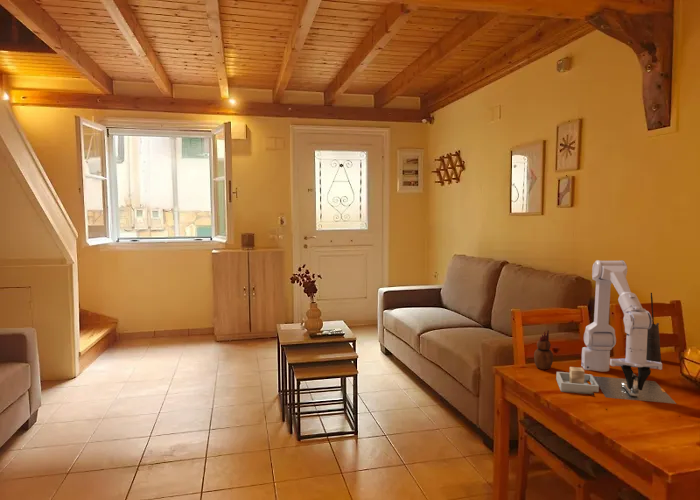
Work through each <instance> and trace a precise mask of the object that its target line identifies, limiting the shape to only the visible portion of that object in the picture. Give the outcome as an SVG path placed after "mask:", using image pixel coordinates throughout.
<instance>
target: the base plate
mask: <svg viewBox="0 0 700 500" xmlns="http://www.w3.org/2000/svg"><path fill="white" fill-rule="evenodd" d="M592 376H593V378H594V379H595V381H596V382H597V384H598V386H599V390H601V392H602V394H603V395H604V397H605V398H609V399H610V398H611V399H619V400H620V399H621V400H629V401H641V402H652V403H653V402H654V403H664V404H675V405H677V403H676V402H675V400H674V399H673V398H672V397H671V396H670V395H669V394H668V393H667V392H666V391H665V389H664V388H662V387H661V386H660V385H659V384H658V383H657V381H655V380H647V379H646V381H645V383H644V385H643V388H642V390H639V396H631V395H630V394H629V393H628V392H627V390H626V389H625V388H624V387H622V386H621V382H626V378H622V377H621V378H619V377H606V376H595V375H592Z"/></svg>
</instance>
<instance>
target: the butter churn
mask: <svg viewBox="0 0 700 500" xmlns="http://www.w3.org/2000/svg"><path fill="white" fill-rule="evenodd" d="M650 303H651V308H650V309H651V317H652V326H651V328H650V329H647V330H648V332H647V354H646V360H648V361H655V362H662V356H661V355H662V354H661V352H662V351H661V341H660V338H661V337H660V327H659V325H660V323H659V322H657V323H655V321H654V320H655V319H654V300H653V292H650Z"/></svg>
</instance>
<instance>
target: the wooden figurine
mask: <svg viewBox="0 0 700 500" xmlns="http://www.w3.org/2000/svg"><path fill="white" fill-rule="evenodd" d="M549 332H550V330H547V332H546V331H544V333H543V334H541V336H540V337H539V340H537V341H536V349H535V350H534V353H533V360H534V364H535V367H536V368H538V369H540V370H549V369H550V368H551V367H552V365H553V363H554V354H553V353H554V352H552V350H551V342H550V338H549V335H550V333H549Z"/></svg>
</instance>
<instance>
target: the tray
mask: <svg viewBox="0 0 700 500" xmlns="http://www.w3.org/2000/svg"><path fill="white" fill-rule="evenodd" d="M593 376H594V375H593V374H590V373H589V374H588V373H584V384H576V383H569V377H570V372H567V371H566V372H564V371H556V376H555V377H556V378H555V380H556V382H557V385H558V388H559V391H560V392H563V393H571V394H573V393H574V394H583V395H585V394H586V395H595V393H599V392H600V387H599V386H598V384H597V382H596V381H595V379H594V378H593ZM588 381H589V382H590V384H589V383H588Z"/></svg>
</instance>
